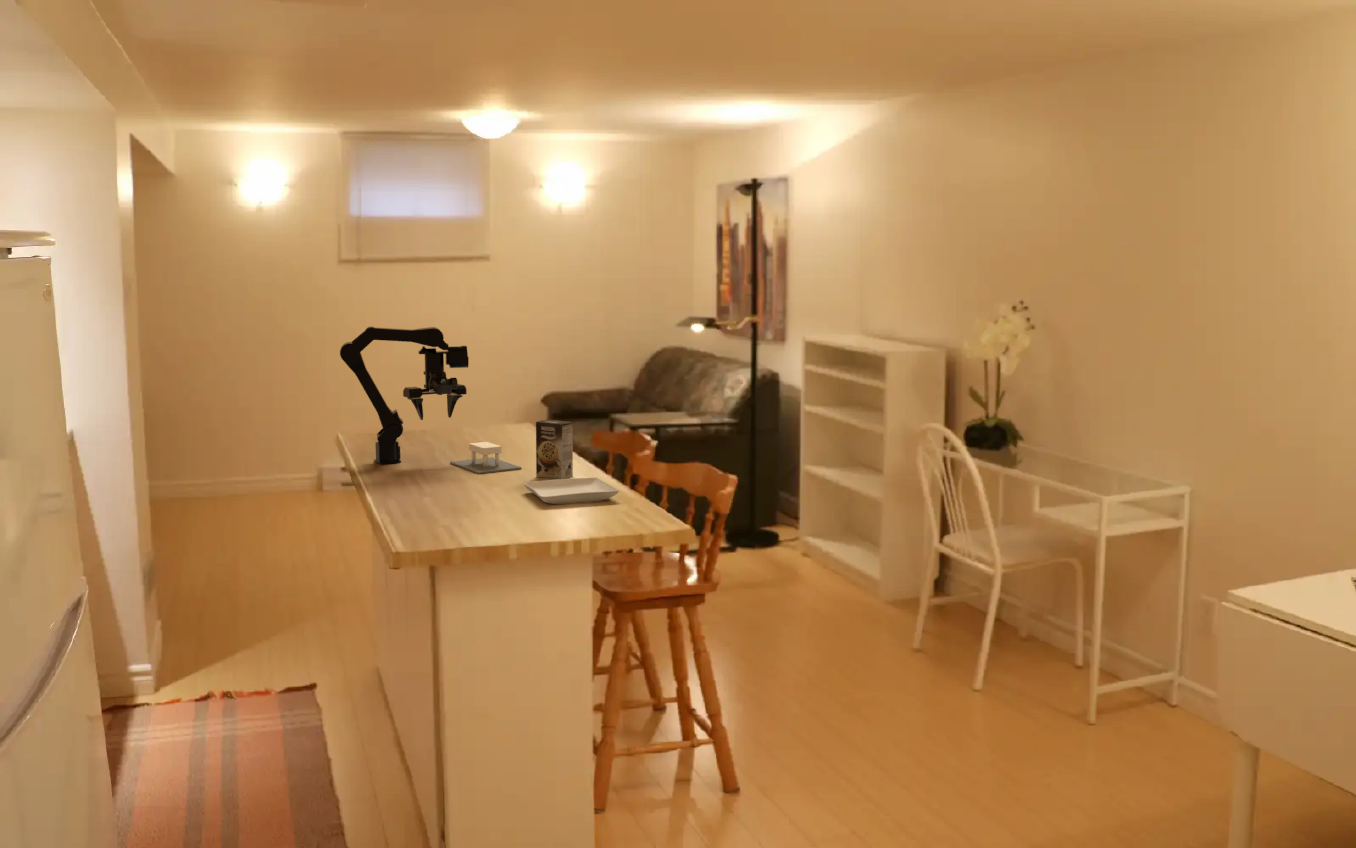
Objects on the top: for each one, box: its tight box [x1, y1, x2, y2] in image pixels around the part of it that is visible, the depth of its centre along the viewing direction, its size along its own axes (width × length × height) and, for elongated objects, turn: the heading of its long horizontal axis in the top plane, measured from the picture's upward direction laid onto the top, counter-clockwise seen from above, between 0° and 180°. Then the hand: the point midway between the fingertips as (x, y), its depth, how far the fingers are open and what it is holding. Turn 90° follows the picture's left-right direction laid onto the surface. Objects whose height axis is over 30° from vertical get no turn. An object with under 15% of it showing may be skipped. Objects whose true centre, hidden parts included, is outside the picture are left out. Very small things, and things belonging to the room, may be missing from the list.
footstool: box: [468, 441, 503, 468], centre depth 360 cm, size 10×6×6 cm, turn 35°
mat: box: [449, 457, 522, 475], centre depth 361 cm, size 14×20×1 cm
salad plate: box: [523, 477, 620, 505], centre depth 318 cm, size 21×21×3 cm
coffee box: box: [535, 419, 574, 480], centre depth 345 cm, size 9×6×16 cm
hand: (435, 418), depth 369 cm, fingers open, 9 cm apart
